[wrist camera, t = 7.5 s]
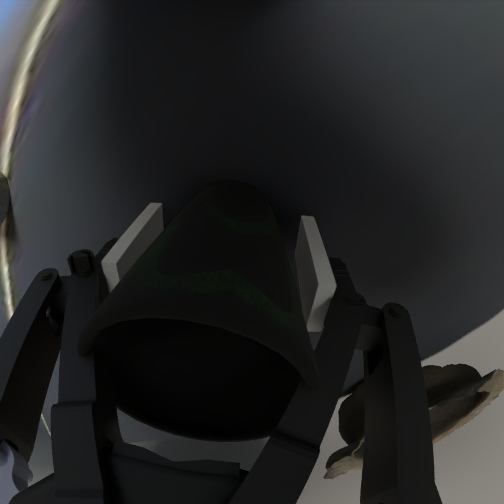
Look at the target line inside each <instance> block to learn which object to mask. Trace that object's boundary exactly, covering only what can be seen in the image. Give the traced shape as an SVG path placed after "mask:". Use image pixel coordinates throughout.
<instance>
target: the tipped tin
mask: <svg viewBox="0 0 504 504" xmlns="http://www.w3.org/2000/svg"><path fill="white" fill-rule="evenodd" d="M9 197H10V195H9V187H8V183H7V181H6V178H5V177H4V175H3V174H2V173H1V172H0V225H1V224H2V222H3V221H4V219H5V217H6V214H7V211H8V207H9Z"/></svg>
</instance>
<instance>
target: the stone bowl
mask: <svg viewBox="0 0 504 504" xmlns="http://www.w3.org/2000/svg"><path fill="white" fill-rule="evenodd" d="M422 371H423V377H424V382H425V388H426V394H427V400H428V407H429V415H430V423H431V432H432V443H433V444H434V443H436V442H438V441H440V440H441V439H443V438H445V437H446V436H448V435H449V434H451V433H452V432H454V431H455V430H457V429H458V428H460V427H461V426H463V425H464V424H466V423H467V422H469V421H470V420H471V419H473V418H474V417H475V416H477V415H478V414H479V413H480V412H481V411H482V410H483V409H484V407H486V406H487V405H489V404H490V403H491V402H492V401H493V400H494V399H495V398H496V397H498V395H499V394H500V392H501V391H502V390H503V389H504V371H503V370H500V369H498V370H494V371H492V372H490V373H489V374H487V375H485V376H483V377H481V376H480V374H479V372H478V371H477V370H476V369H475V368H473V367H471V366H469V365H466V364H457V365H453V364H450V365H446V366H444V367H443V368H442V367H440V366H434V365H428V366H424V367H422ZM338 413H339V432H340V435H341V437H342V438H343V440H344V441H345V442H346V443H347V444H348V445H349V446H347V447H344V448H341V449H339V450H338V451H336V452H334V453H333V454H332V455H331V456H330V457H329V459H328V461H327V463H326V469H327V473H326V474H325V476H324V479H333V478H335V477H337V476H339V475H341V474H345V473H347V472H348V471H349V470H354V471H355V470H362V468H363V452H364V424H365V387H364V382H362V383H361V384H359V385H358V386H357V387H356V388H355V390H354V391H353V393H352V395H350V396H348V397H347V398H346V399H345V400H344V401H343V402H342V404H341V406H340V409H339V411H338Z"/></svg>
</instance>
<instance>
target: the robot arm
mask: <svg viewBox="0 0 504 504" xmlns="http://www.w3.org/2000/svg"><path fill="white" fill-rule="evenodd" d="M163 230H164V227H163V210H162V203H150V204H149V205H148V206H147V207H146V208H145V209H144V211H143V212H142V213H141V214H140V215H139V216H138V217H137V219H136V220H135V221H134V222H133V223H132V224H131V226H130V227H129V228H128V229H127V230H126V231H125V233H124V234H123V235H122V236H121V237H120V238H113V239H112V240H110V241H109V242H107V243H106V244H105V245H104V247H103V249H101V250H100V251H99V253H98V254H97V255H96V256H95V257H94V254H93V252H92V251H91V250H87V249H83V250H78V251H75V252H73V253H72V254H71V255H69V257H68V259H67V260H68V263H69V267H70V270H71V274H72V275H71V276H60V277H59V274H58V271H57V270H56V269H54V268H47V269H44V270H42V271H41V272H39V273H38V274H37V275H36V277H35V278H34V280H33V281H32V283H31V285H30V286H29V288H28V289H27V291H26V293H25V294H24V296H23V298H22V299H21V301H20V303H19V305H18V306H17V308H16V310H15V312H14V313H13V315H12V317H11V319H10V321H9V323H8V325H7V326H6V328H5V330H4V332H3V334H2V336H1V338H0V504H296V502H297V500H298V498H299V496H300V494H301V492H302V490H303V488H304V486H305V484H306V482H307V480H308V478H309V476H310V474H311V472H312V469H313V468H314V465H315V463H316V461H317V458H318V456H319V453H320V445H321V442H322V440H323V437H324V435H325V432H326V430H327V428H328V425H329V422H330V420H331V417H332V415H333V412H334V410H335V406H336V404H337V401H338V399H339V396H340V393H341V390H342V387H343V384H344V381H345V378H346V375H347V372H348V369H349V366H350V363H351V359H352V356H353V353H354V349H355V348H356V349H360V350H363V357H364V387H365V424H364V452H363V468H362V481H361V496H360V504H442V502H441V498H440V496H439V493H438V490H437V487H436V485H435V480H434V479H435V478H434V458H433V457H434V456H433V443H432V432H431V423H430V415H429V407H428V400H427V394H426V388H425V382H424V377H423V371H422V367H421V361H420V356H419V352H418V347H417V343H416V339H415V334H414V330H413V326H412V322H411V319H410V315H409V313H408V311H407V310H406V309H405V308H404V307H403V306H401V305H400V304H397V303H387V304H385V305H384V306H383V309H379V308H375V307H372V306H369V305H367V304H366V300H365V299H364V297H363V296H362V295H360V294H359V293H357V292H356V291H355V289H354V286H353V283H352V281H351V278H350V277H349V276H350V275H349V273H348V270H347V268H346V265H345V264H344V263H343V262H342V261H341V260H340V259H339V258H329V257H327V254H326V251H325V248H324V245H323V242H322V239H321V236H320V233H319V230H318V227H317V224H316V221H315V219H314V217H312V216H303V215H301V220H300V226H299V232H298V237H297V243H296V248H295V253H294V256H295V263H296V269H297V276H298V283H299V290H300V297H301V304H302V311H303V315H304V319H305V323H306V326H307V330H308V332H321V331H322V328H323V325H324V326H325V328H324V331H323V333H322V335H321V337H320V340H319V342H318V344H317V347H316V349H315V351H314V357H315V361H316V365H317V369H318V373H319V377H320V381H321V385H320V386H319V387H318V388H317V389H311V388H310V387H308V386H307V385H306V384H305V382H304V380H303V378H302V379H301V381H300V383H299V385H298V387H297V389H296V391H295V393H294V395H293V397H292V399H291V401H290V403H289V405H288V407H287V409H286V411H285V412H284V414H283V416H282V418H281V420H280V422H279V424H278V426H277V427H276V429H275V431H274V432H273V433H272V435H271V436H270V438H269V440H268V442H267V443H266V445H265V447H264V449H263V450H262V452H261V454H260V455H259V457H258V459H257V460H256V462H255V464H254V465H253V467H252V469H251V470H250V472H248V471H246V470H243V469H240V463H235V462H224V461H215V460H198V461H197V460H196V461H180V462H175V461H171V460H168V459H166V458H164V457H162V456H160V455H158V454H156V453H154V452H151V451H150V450H148V449H145V448H143V447H139V446H136V445H132V444H128V443H125V442H124V441H123V439H122V437H121V433H120V428H119V423H118V416H117V409H116V402H115V395H114V386H113V383H112V380H111V377H110V374H109V371H108V368H107V365H106V363H105V360H104V358H103V356H102V354H101V352H100V350H98V349H97V348H96V347H95V346H93V348H92V349H91V351H90V352H89V354H88V355H85V356H80V355H79V354H78V352H77V343H78V338H79V333H80V331H81V330H82V328H83V327H84V326H85V324H86V323H87V322H88V320H89V319H90V318H91V317H92V315H93V314H94V313H95V311H96V310H97V309H98V307H99V306H100V305H101V304H102V302H103V301H104V300H105V299H106V297H107V296H108V295H109V293H110V292H111V291H112V290H113V289H114V287H115V286H116V285H117V284H118V282H119V281H120V280H121V279H122V277H123V276H124V275H125V274H126V273H127V271H128V270H129V269H130V268H131V267H132V266H133V264H134V263H135V262H136V261H137V260H138V258H139V257H140V256H141V255H142V254H143V253H144V252H145V250H146V249H147V248H148V247H149V246H150V245H151V244H152V242H153V241H154V240H155V239H156V238H157V237H158V236H159V235H160V233H161V232H162V231H163ZM47 311H48V313H47V315H46V312H47ZM60 349H61V352H60ZM59 352H60V366H59V395H58V403H57V404H54V405H53V406H52V407H51V440H52V455H53V465H54V473H52V474H50V475H49V476H47V477H45V478H44V479H42V480H40V481H39V482H37V483H35V484H33V485H31V486H30V487H28V482H31V481H32V479H33V474H32V471H31V470H30V469H29V466H28V461H29V459H30V456H31V454H32V451H33V448H34V443H35V439H36V435H37V430H38V425H39V421H40V417H41V413H42V409H43V405H44V401H45V397H46V393H47V390H48V386H49V383H50V380H51V376H52V373H53V370H54V367H55V364H56V361H57V358H58V355H59Z"/></svg>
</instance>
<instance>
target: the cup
mask: <svg viewBox="0 0 504 504" xmlns="http://www.w3.org/2000/svg"><path fill="white" fill-rule="evenodd" d="M93 346H95V347H96V348H97V349H98V350H100V352H101V354H102V356H103V358H104V360H105V363H106V365H107V368H108V371H109V374H110V377H111V380H112V383H113V386H114V395H115V402H116V408H118V409H119V410H121V411H122V412H124V413H125V414H127V415H129V416H130V417H132V418H134V419H136V420H138V421H140V422H142V423H144V424H146V425H149V426H151V427H153V428H155V429H158V430H161V431H164V432H167V433H171V434H174V435H177V436H182V437H186V438H192V439H197V440H204V441H215V442H241V441H249V440H256V439H262V438H266V437H269V436H271V435H272V433H273V432H274V431H275V429H276V427H277V426H278V424H279V422H280V420H281V418H282V416H283V414H284V412H285V411H286V409H287V407H288V405H289V403H290V401H291V399H292V397H293V395H294V393H295V391H296V389H297V387H298V385H299V383H300V381H301V379H302V378H303V380H304V382H305V384H306V385H307V386H308V387H310V388H311V389H317V388H318V387H319V386H320V385H321V381H320V377H319V373H318V369H317V365H316V361H315V357H314V353H313V349H312V345H311V342H310V338H309V334H308V330H307V326H306V323H305V319H304V315H303V311H302V308H301V304H300V300H299V297H298V293H297V289H296V286H295V282H294V279H293V275H292V272H291V268H290V265H289V261H288V258H287V254H286V251H285V247H284V244H283V240H282V237H281V234H280V230H279V227H278V223H277V220H276V217H275V213H274V211H273V208H272V206H271V204H270V202H269V201H268V199H267V198H266V197H265V196H264V194H262V193H261V192H260V191H259V190H257V189H256V188H255V187H253V186H250V185H248V184H246V183H243V182H238V181H220V182H217V183H213V184H210V185H209V186H207V187H205V188H204V189H202V190H201V191H200V192H199V193H198V194H197V195H196V196H195V197H194V198H193V199H192V200H191V201H190V202H189V203H188V204H187V205H186V206H185V207H184V208H183V209H182V211H181V212H180V213H179V214H178V215H177V216H176V217H175V218H174V219H173V220H172V221H171V222H170V223H169V225H168V226H167V227H166V228H165V229H164V230H163V231H162V232H161V233H160V235H159V236H158V237H157V238H156V239H155V240H154V241H153V242H152V244H151V245H150V246H149V247H148V248H147V249H146V250H145V252H144V253H143V254H142V255H141V256H140V257H139V258H138V260H137V261H136V262H135V263H134V264H133V266H132V267H131V268H130V269H129V270H128V271H127V273H126V274H125V275H124V276H123V277H122V279H121V280H120V281H119V282H118V284H117V285H116V286H115V287H114V289H113V290H112V291H111V292H110V293H109V295H108V296H107V297H106V299H105V300H104V301H103V302H102V304H101V305H100V306H99V307H98V309H97V310H96V311H95V313H94V314H93V315H92V317H91V318H90V319H89V320H88V322H87V323H86V324H85V326H84V327H83V328H82V330H81V331H80V333H79V338H78V343H77V352H78V354H79V355H80V356H85V355H88V354H89V352H90V351H91V349H92V348H93Z"/></svg>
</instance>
